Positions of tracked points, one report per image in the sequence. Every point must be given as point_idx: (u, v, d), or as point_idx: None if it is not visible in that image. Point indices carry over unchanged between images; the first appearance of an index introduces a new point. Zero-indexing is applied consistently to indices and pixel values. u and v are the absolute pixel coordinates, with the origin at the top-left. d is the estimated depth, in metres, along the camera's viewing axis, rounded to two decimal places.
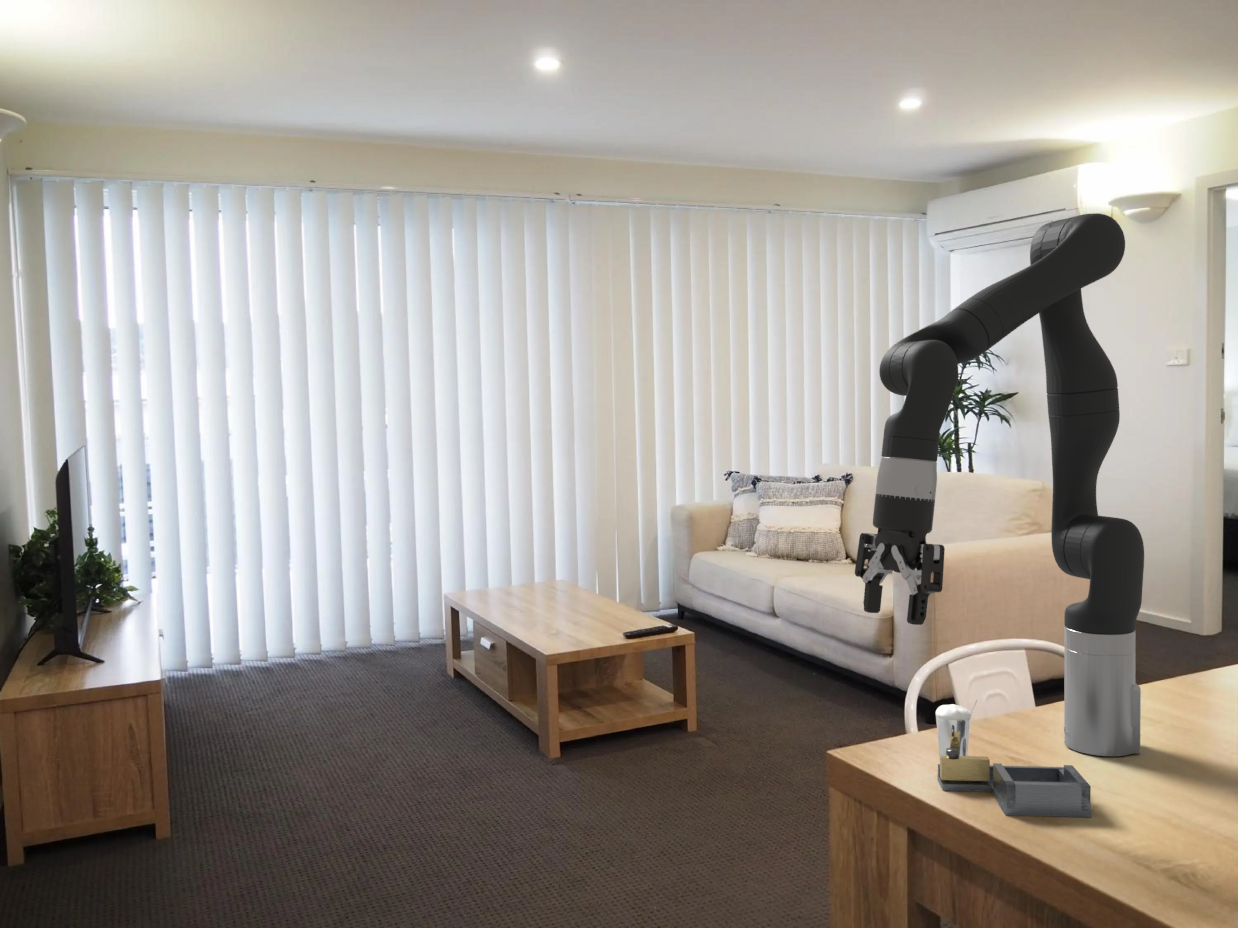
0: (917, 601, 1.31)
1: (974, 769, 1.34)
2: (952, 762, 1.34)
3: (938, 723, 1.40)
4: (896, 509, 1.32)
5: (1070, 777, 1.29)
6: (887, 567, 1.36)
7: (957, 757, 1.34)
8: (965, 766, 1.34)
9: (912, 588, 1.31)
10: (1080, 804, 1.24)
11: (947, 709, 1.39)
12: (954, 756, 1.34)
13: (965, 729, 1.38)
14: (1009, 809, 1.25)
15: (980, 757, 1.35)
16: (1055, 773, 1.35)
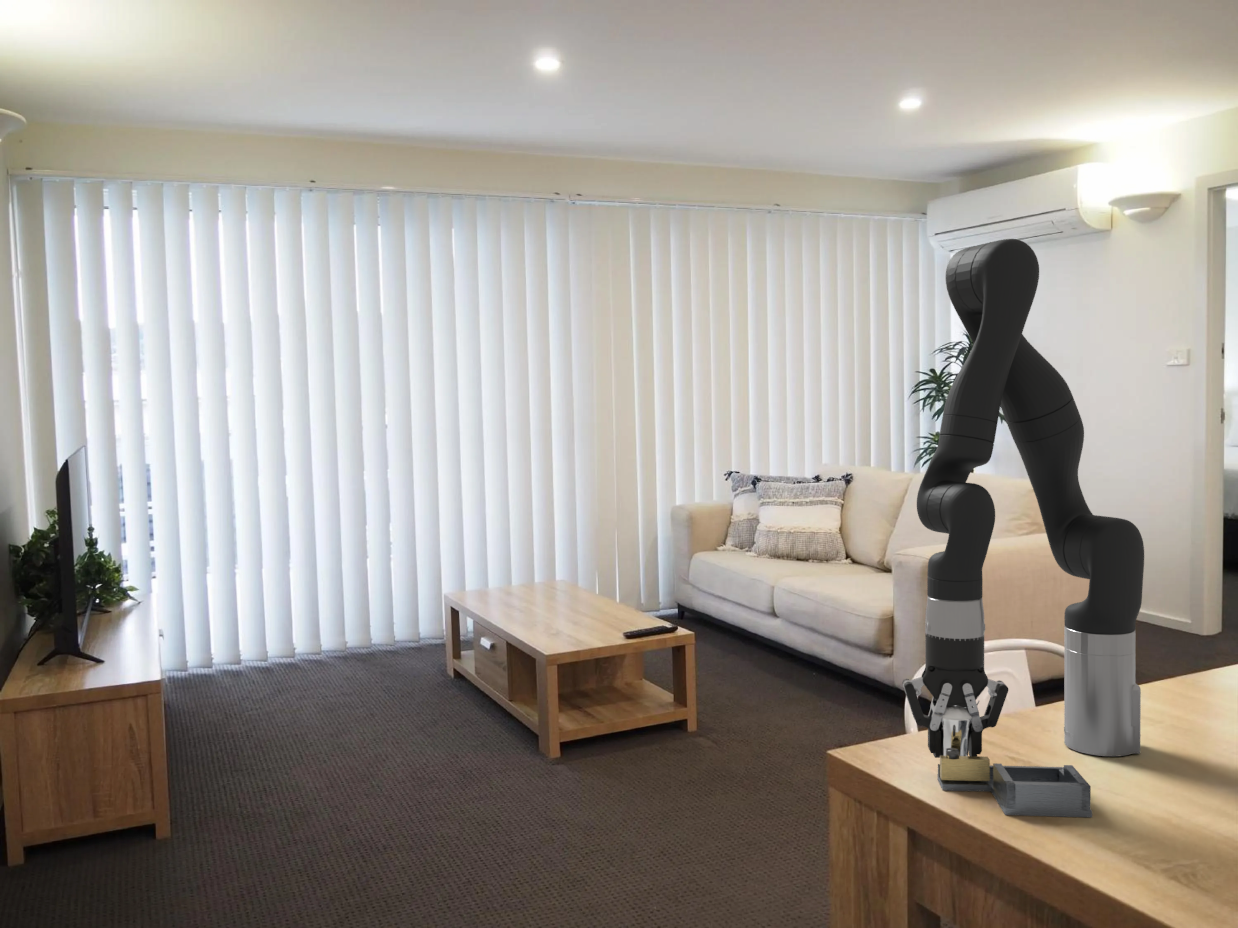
0: (979, 736, 1.39)
1: (974, 769, 1.34)
2: (952, 762, 1.34)
3: None
4: (976, 650, 1.36)
5: (1070, 777, 1.29)
6: (949, 703, 1.39)
7: (957, 757, 1.34)
8: (965, 766, 1.34)
9: (976, 726, 1.38)
10: (1080, 804, 1.24)
11: (949, 709, 1.39)
12: (954, 756, 1.34)
13: (966, 730, 1.38)
14: (1009, 809, 1.25)
15: (980, 757, 1.35)
16: (1055, 773, 1.35)
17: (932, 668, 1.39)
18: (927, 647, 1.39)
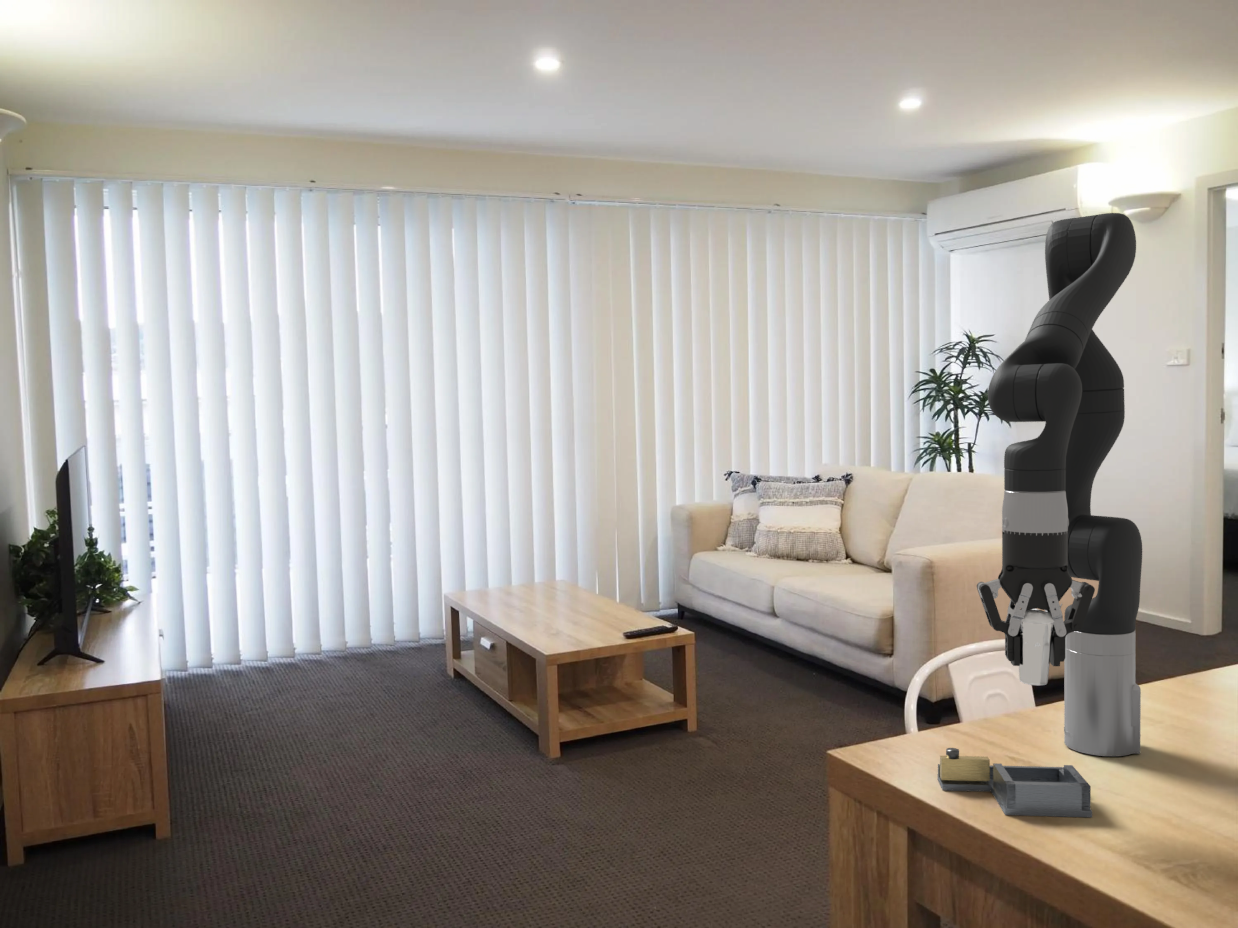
0: (1062, 642, 1.28)
1: (974, 769, 1.34)
2: (952, 762, 1.34)
3: None
4: (1060, 546, 1.25)
5: (1070, 777, 1.29)
6: (1029, 606, 1.28)
7: (957, 757, 1.34)
8: (965, 766, 1.34)
9: (1059, 630, 1.27)
10: (1080, 804, 1.24)
11: (1029, 612, 1.27)
12: (954, 756, 1.34)
13: (1049, 634, 1.27)
14: (1009, 809, 1.25)
15: (980, 757, 1.35)
16: (1055, 773, 1.35)
17: (1010, 568, 1.28)
18: (1005, 545, 1.28)
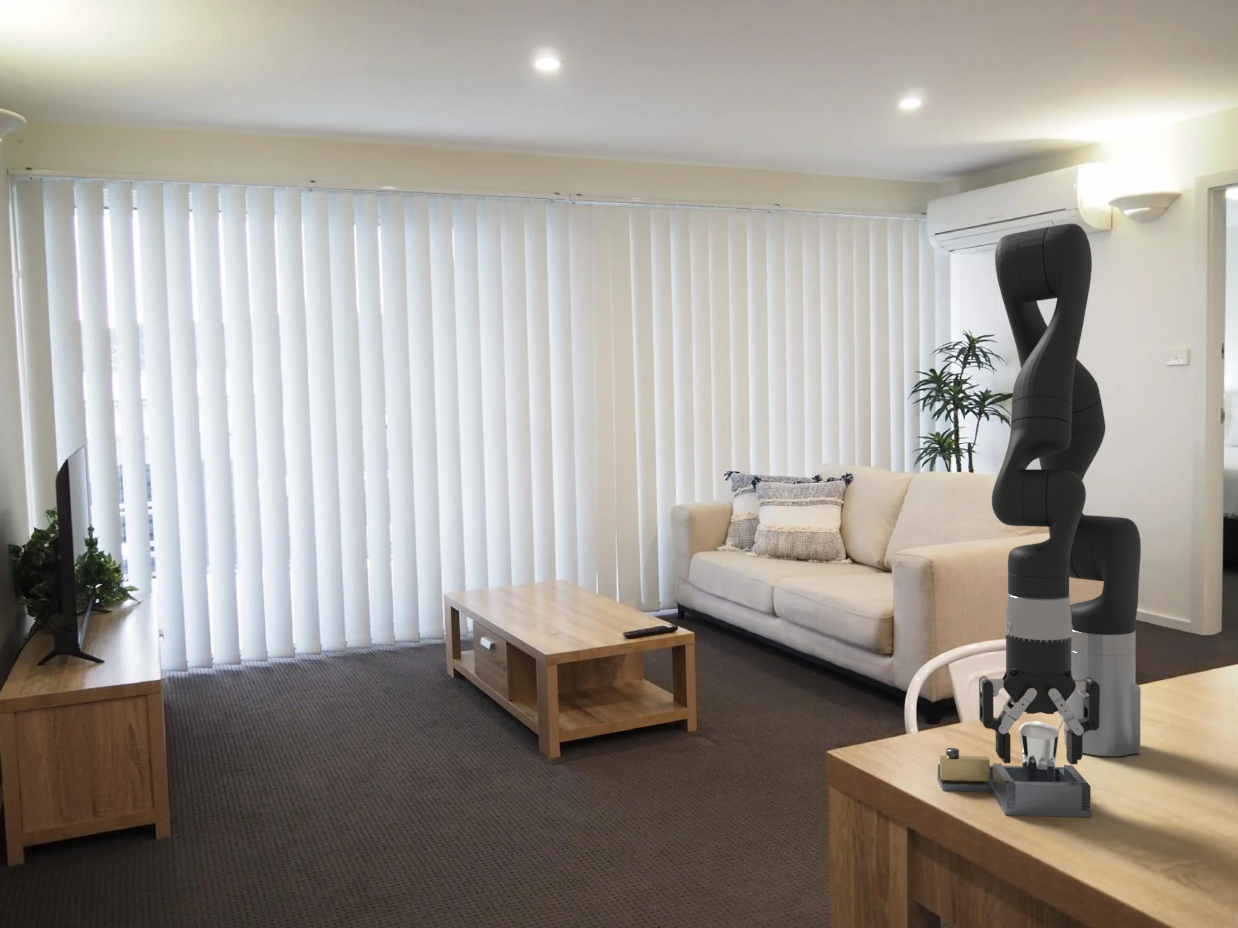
0: (1079, 740, 1.28)
1: (974, 769, 1.34)
2: (952, 762, 1.34)
3: (1023, 742, 1.29)
4: (1064, 653, 1.25)
5: (1070, 777, 1.29)
6: (1033, 710, 1.28)
7: (957, 757, 1.34)
8: (965, 766, 1.34)
9: (1076, 729, 1.27)
10: (1080, 804, 1.24)
11: (1033, 727, 1.28)
12: (954, 756, 1.34)
13: (1053, 749, 1.27)
14: (1009, 809, 1.25)
15: (980, 757, 1.35)
16: (1055, 773, 1.35)
17: (1014, 672, 1.28)
18: (1009, 649, 1.28)
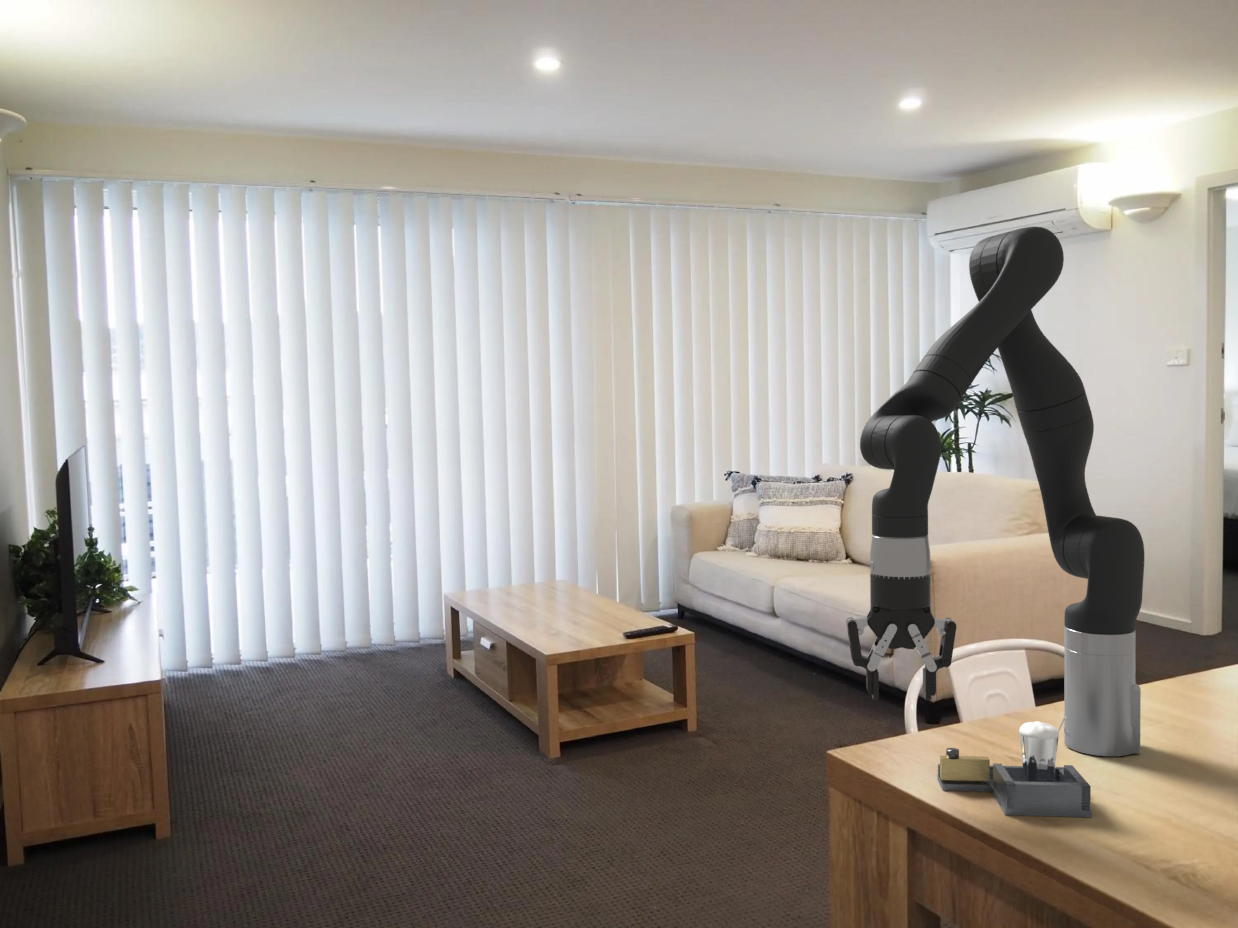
0: (933, 677, 1.34)
1: (974, 769, 1.34)
2: (952, 762, 1.34)
3: (1023, 742, 1.29)
4: (921, 589, 1.31)
5: (1070, 777, 1.29)
6: (894, 645, 1.34)
7: (957, 757, 1.34)
8: (965, 766, 1.34)
9: (930, 666, 1.33)
10: (1080, 804, 1.24)
11: (1033, 727, 1.28)
12: (954, 756, 1.34)
13: (1053, 749, 1.27)
14: (1009, 809, 1.25)
15: (980, 757, 1.35)
16: (1055, 773, 1.35)
17: (877, 609, 1.34)
18: (871, 587, 1.34)
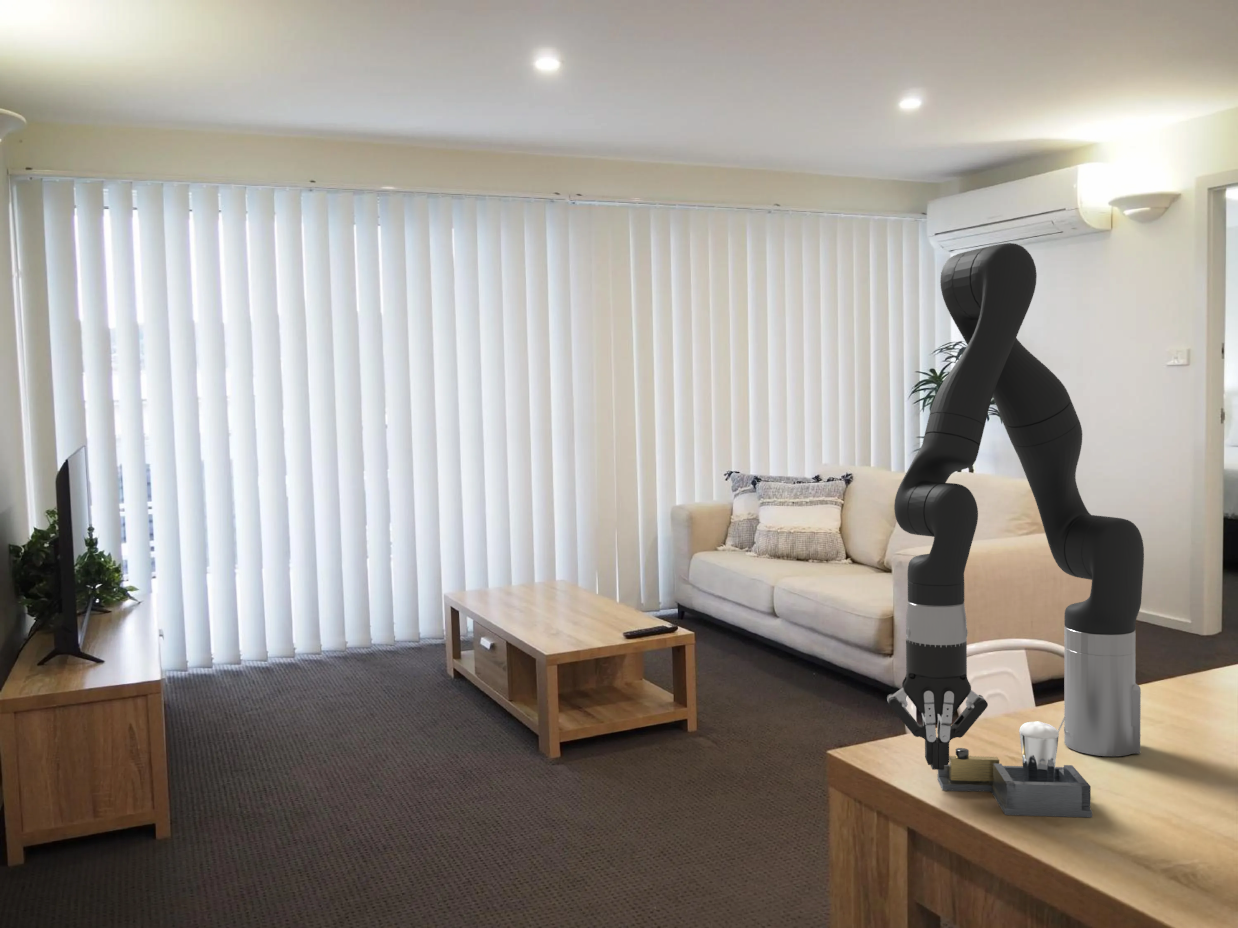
0: (946, 747, 1.34)
1: (984, 769, 1.34)
2: (961, 762, 1.34)
3: (1023, 742, 1.29)
4: (957, 657, 1.31)
5: (1070, 777, 1.29)
6: None
7: (967, 757, 1.34)
8: (975, 766, 1.34)
9: (944, 736, 1.34)
10: (1080, 804, 1.24)
11: (1033, 727, 1.28)
12: (964, 756, 1.34)
13: (1053, 749, 1.27)
14: (1009, 809, 1.25)
15: (989, 757, 1.34)
16: (1055, 773, 1.35)
17: (913, 675, 1.34)
18: (907, 654, 1.34)
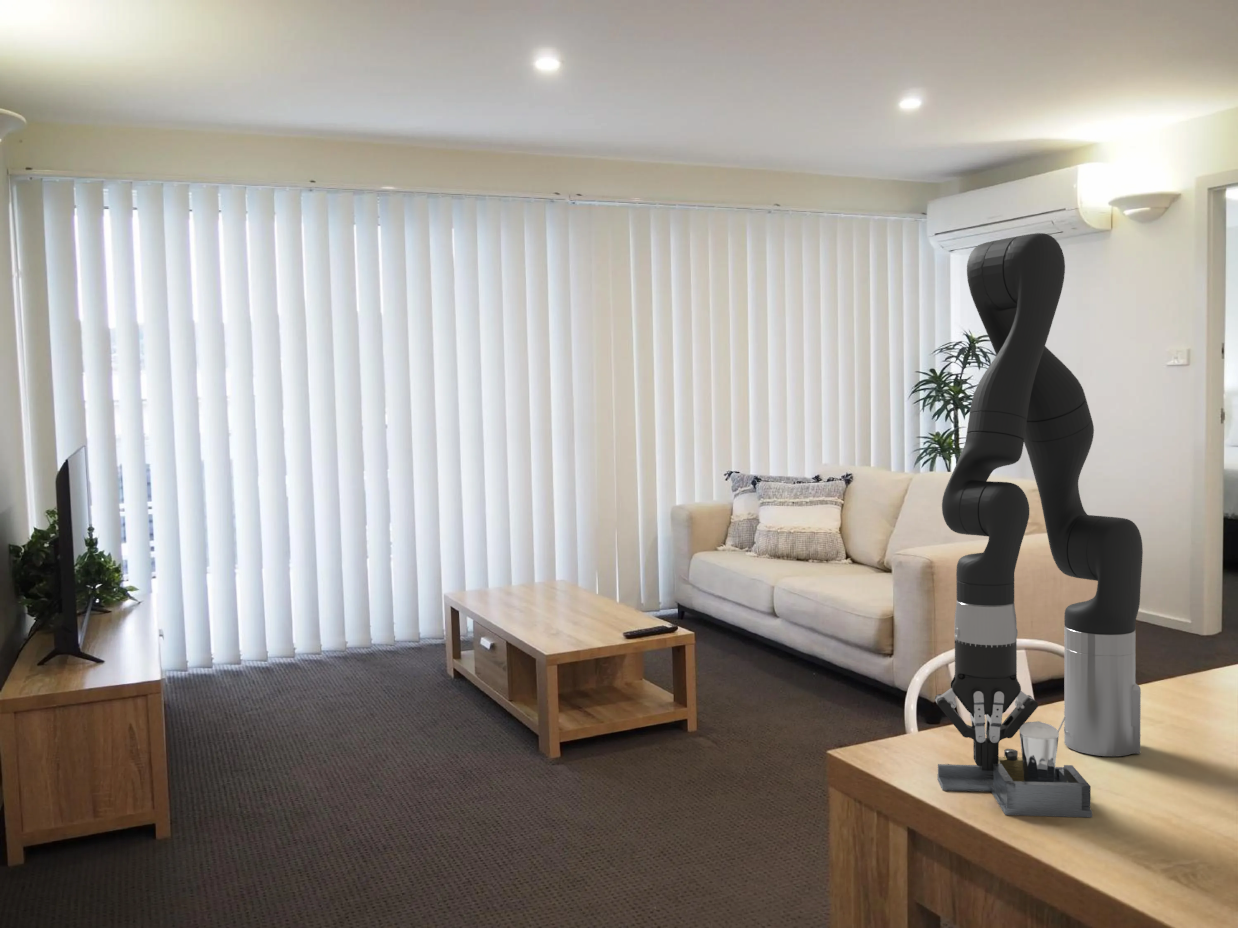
0: (996, 747, 1.33)
1: None
2: (1010, 763, 1.33)
3: (1023, 742, 1.29)
4: (1008, 657, 1.30)
5: (1070, 777, 1.29)
6: None
7: (1016, 758, 1.33)
8: None
9: (993, 736, 1.33)
10: (1080, 804, 1.24)
11: (1033, 727, 1.28)
12: (1013, 757, 1.33)
13: (1053, 749, 1.27)
14: (1009, 809, 1.25)
15: None
16: (1055, 773, 1.35)
17: (962, 676, 1.33)
18: (957, 654, 1.33)
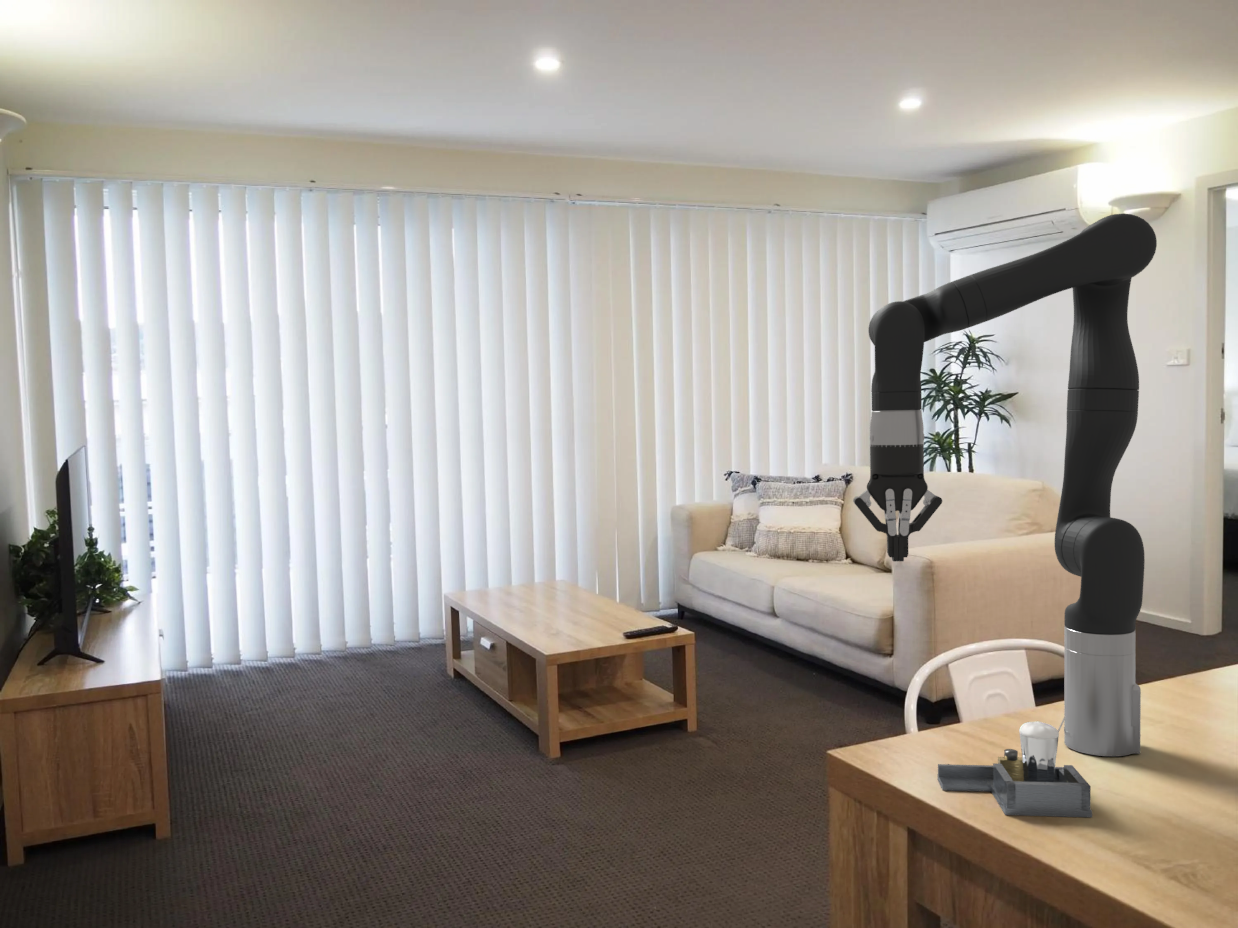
0: (906, 541, 1.51)
1: None
2: (1010, 763, 1.33)
3: (1023, 742, 1.29)
4: (915, 456, 1.47)
5: (1070, 777, 1.29)
6: None
7: (1016, 758, 1.33)
8: None
9: (903, 530, 1.50)
10: (1080, 804, 1.24)
11: (1033, 727, 1.28)
12: (1013, 757, 1.33)
13: (1053, 749, 1.27)
14: (1009, 809, 1.25)
15: None
16: (1055, 773, 1.35)
17: (876, 476, 1.50)
18: (871, 457, 1.51)
